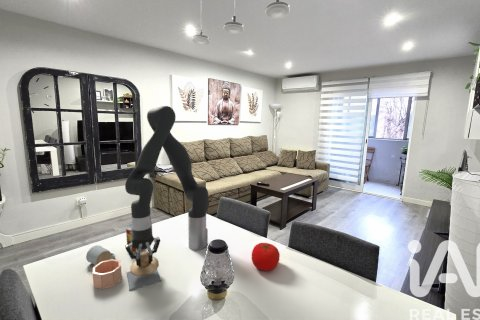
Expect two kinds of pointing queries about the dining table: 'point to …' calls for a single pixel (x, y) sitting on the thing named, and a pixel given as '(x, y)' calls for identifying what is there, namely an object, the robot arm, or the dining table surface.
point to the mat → (142, 280)
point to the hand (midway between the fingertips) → (144, 264)
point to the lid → (144, 265)
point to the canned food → (130, 237)
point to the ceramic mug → (98, 255)
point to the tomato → (265, 256)
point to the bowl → (107, 273)
